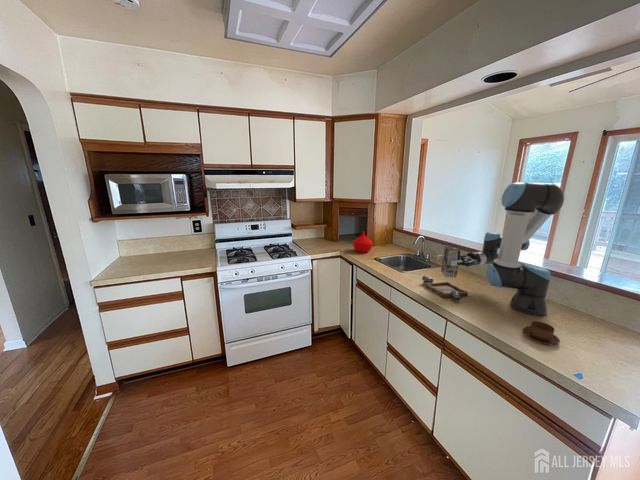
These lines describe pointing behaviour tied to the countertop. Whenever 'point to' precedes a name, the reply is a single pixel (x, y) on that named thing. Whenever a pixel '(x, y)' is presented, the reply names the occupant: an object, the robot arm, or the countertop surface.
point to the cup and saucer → (541, 333)
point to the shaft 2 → (455, 297)
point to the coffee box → (449, 256)
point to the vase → (362, 243)
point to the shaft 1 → (427, 280)
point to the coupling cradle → (445, 289)
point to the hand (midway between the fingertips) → (444, 260)
